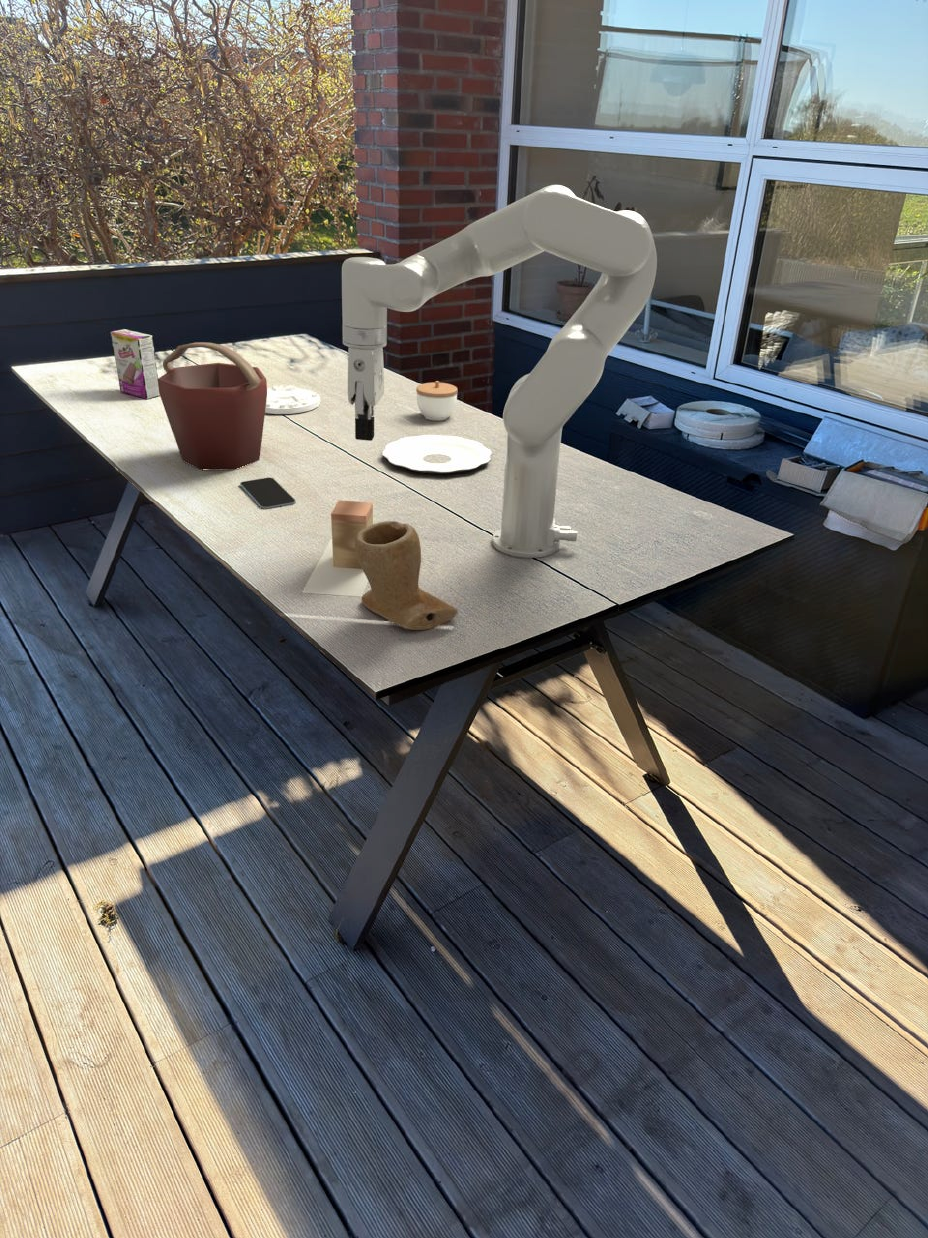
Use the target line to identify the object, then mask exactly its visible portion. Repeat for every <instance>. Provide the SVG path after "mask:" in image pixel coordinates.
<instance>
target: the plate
mask: <svg viewBox="0 0 928 1238" xmlns="http://www.w3.org/2000/svg"><path fill="white" fill-rule="evenodd" d="M381 454H382V457H384V458H385V459H386V460H388V462H389V464H391V465H393V466H396V467H400V468H404V469H407V470H409V471H411V472H412V471H413V472H418V473H423V474H431V475H432V474H433V475H435V474H437V475H441V474H442V475H443V474H455V473H461V472H462V473H463V472H469V471H471V470H475V469H477V468H479V467H480V466H483V465H486V464H488V463H489V462H490V461H491V455H492V454H493V452H492V450H491V449H489V448H488V447H486V446H485V445H483V443H481V442H479V441H477V440H473V439H468V438H464V437H460V436H457V435H456V436H455V435H439V434H424V435H417V436H406V437H401V438H400V439H398V440H395V441H391V442H389V443H388V444H386V445H385V447H384V449H383V450H382V452H381ZM429 455H444V456H447V457H449V458H450V461H447V462H444V463H433V462H428V461H425V460H424V457H426V456H429Z"/></svg>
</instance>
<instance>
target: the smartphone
mask: <svg viewBox="0 0 928 1238" xmlns="http://www.w3.org/2000/svg"><path fill="white" fill-rule="evenodd" d="M239 484H240V485H241V486H240V485H239V486H240V488H241V487H242V488H243V489H244V490H245V491H246V492H247V493H246V492H245V491H244V490H243V489H242V488H241V489H242V490H243V491H244V492H245V493H246V495H248V497H250V498H251V500H252V501H254V503H257V504H258V505H259V506H260V507H261V508H260V507H259V506H258V505H257V504H256V505H257V506H258V507H259V508H260V509H262V510H270V509H275V508H279V507H287V506H292V505H295V504H296V499H295V497H293V496H292V495H291V494H290V493H289V492H288V491H287V489H285V488H284V487H283V486H282V485H281V484H280V483H279V482H278V481H277V480H276V479H275V478H274V477H269V476H268V477H263V478H262V477H261V478H257V479H251V480H244V481H241V482H240V483H239Z"/></svg>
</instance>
